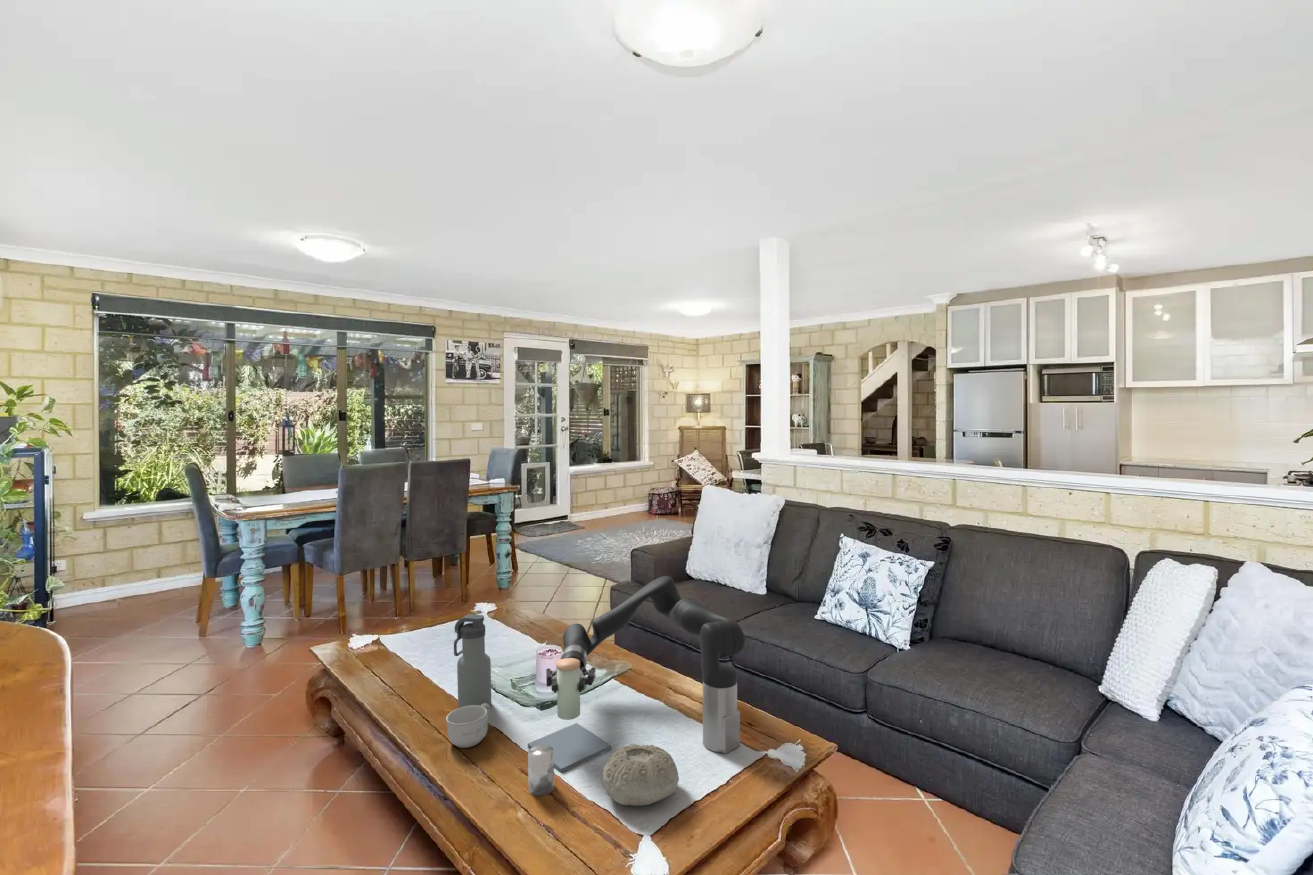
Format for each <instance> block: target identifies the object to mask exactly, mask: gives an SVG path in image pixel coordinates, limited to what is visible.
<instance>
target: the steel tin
mask: <svg viewBox="0 0 1313 875" xmlns="http://www.w3.org/2000/svg"><path fill="white" fill-rule="evenodd" d="M527 764H528V765H527V767H528V768H527V769H528V770H527V773H528V774H527V775H528V777H527V778H528V793H529V794H531V795H533V796H535V797H537V796H539V797H541V796H545V795H546V796H547V795H548V794H550V793H552V792H553V790H554V789H555V768H554V752H553V748H552V747H551V746H549V745H537V746H534V747H532V748H531V749H529V750H528V752H527Z"/></svg>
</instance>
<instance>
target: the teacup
mask: <svg viewBox="0 0 1313 875" xmlns="http://www.w3.org/2000/svg"><path fill="white" fill-rule="evenodd" d="M490 713H491V705H490V706H489V704H487V703H483V704H482V705H481V706H478V705H470V706H465V707H461V708H458V707H457V708H456V709H454V710H451V711H450V712H449V713H448V714H447V715H446V718H445V721H446V731H447V737H448V739H449V742H450V743H452V745H454V746H456V747H458V748H461V749H464V748H465V749H466V748H471V747H474V746H477V745H478V744H479V743H481V742H482V740H483V739H484V738H485V737H486V735H487V733H488V727H489V726H488V717H489V715H490Z"/></svg>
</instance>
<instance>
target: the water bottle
mask: <svg viewBox="0 0 1313 875" xmlns="http://www.w3.org/2000/svg"><path fill="white" fill-rule="evenodd" d="M484 621H485V615H482V614H471V613H470V614H467V615H465V616H463V617H462V618H460V619H459V620H457V621H456V622H455V625H454V633H455V634H456V639H454V641H453V655H454V656H455V657H458V656H460V655H461V657H459V658H458V660H457V664H456V669H457V670H456V673H457V674H456V675H457V709H458V708H461V707H465V706H470V705H478V706H481V705H482V704H483V703H487V704H489V706H490V707H491V705H492V669H491V666H492V664H491V661H492V660H491V658H490V655H488V654H487V653H486V643H485V638H486V637H485V636H486V625H485V623H484ZM461 639H462V640H461ZM460 640H461V641H462V642H461V643H462V644H461V645H462V649H461V650H460V651H459V652H458V649H457V648H458V647H457V645H458V642H459V641H460Z"/></svg>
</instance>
